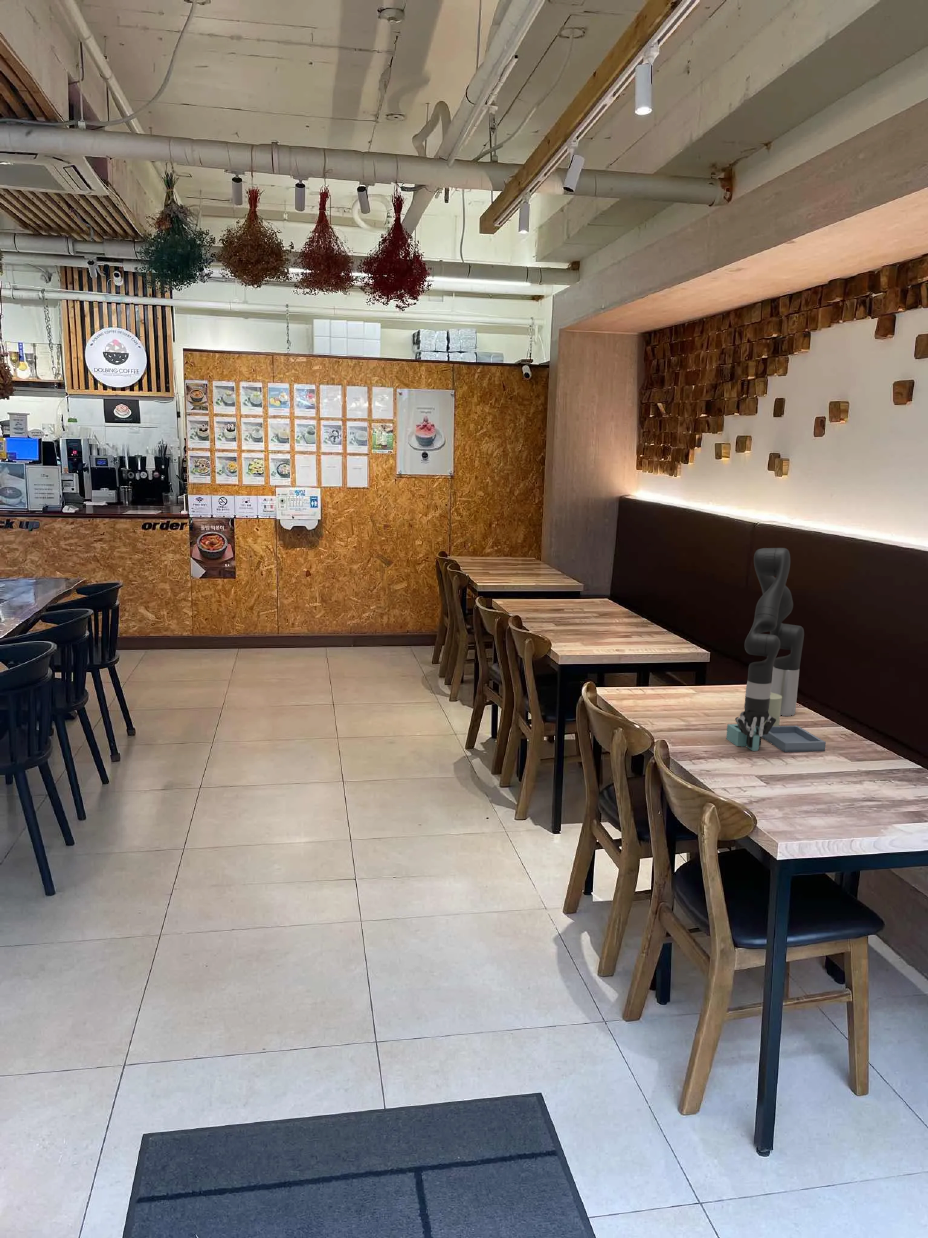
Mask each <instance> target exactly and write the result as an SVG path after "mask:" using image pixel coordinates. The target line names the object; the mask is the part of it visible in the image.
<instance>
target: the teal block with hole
mask: <svg viewBox="0 0 928 1238" xmlns="http://www.w3.org/2000/svg"><path fill="white" fill-rule="evenodd" d="M725 737H726V740H727V741H728V742H730V743H732V744H733V745H735V746H736V747H737V746H741V747H746V746H747V744H746V739H747V735H744V734H743V733H742V732H741V731H740V728H739V726H738V724H737V723H733V724H729V723H728V724H727V725H726V736H725ZM752 737H753V742H752V748H750V747H748V746H747V747H746V748H748V749H749V750H750V751H753V752H757V751H759V748H760V746H759V738H760V736H759V735H758V734H756V727H755V730H754V732H753V736H752Z"/></svg>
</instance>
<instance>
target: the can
mask: <svg viewBox="0 0 928 1238" xmlns="http://www.w3.org/2000/svg"><path fill="white" fill-rule="evenodd" d="M781 701H782V696H781V695H779V694H775V693H771V695H770V704H769V710H768V712H769V716H772V717H773V718H775V719H776V722H775V723H774V725H773V726H780V721H781V715H780V711H781ZM765 723H766V721H765ZM765 723H764V725H765Z"/></svg>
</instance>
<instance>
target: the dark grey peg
mask: <svg viewBox="0 0 928 1238" xmlns="http://www.w3.org/2000/svg"><path fill="white" fill-rule="evenodd" d="M744 711H745V710H744ZM744 711H741V712H740V713H739V717H741V716H743V713H744ZM744 725H745V728H746V730H747V727H746V725H747V722H746V720H745V719H744Z"/></svg>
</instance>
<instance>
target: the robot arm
mask: <svg viewBox="0 0 928 1238" xmlns="http://www.w3.org/2000/svg"><path fill="white" fill-rule="evenodd" d="M753 555H754V556H753V564H754V565H753V566H754V570H755V573H756V577H757V579H758V582H759V584H760V587H761V588H760V589H761V593H762V595H761V596H760V598H759V599H758V601H757V603H756V605H755V610H754V611H755V612H754V618H753V623H752V626H751V628H750V631H749V633H748V634H747V636H746V638H745V640H744V644H743V645H744V650H745V652H746V653H747V654H748V655H751V656H759V657H766V659H764V660H762V661H754V662H751V663H749V665H748V670H747V671H748V672H747V683H746V686H745V697H744V706H743V707H744V713H743V716H741V717H740V716H738V717H736V716H735V720H734V721H735V722H736V724H738V726H739V728H740V731H741V732H742V733H743V734H744V735H747V739H746V744H747V746H748V747H750V748H752V742H753V737H752V736H753V732H754V730H755V727H756V734H758V735H759V736H760V738H759V747H760V746H761V745H762V739H763V738H762V736H763V735H765V734H766V735H767V734H768V732H769V731H770V729H771V728H772V726H773V725H774V723H775V722H776V719H775V718H773V717H772V716H769V712H768V710H769V704H770V695H771V693H775V694H779V695H781V696H782V701H781V711H780V716H781V715H782V716H783V717H791V715H792V716H795V715H796V708H797V698H798V688H799V679H800V678H799V677H800V667H801V659H802V651H803V646H804V637H805V630H804V627H802V626H801V625H797V624H796V625H795V624H789V623H783V621H784V620H785V619H786V618H787V617H788V616H789V615H790V614H791V613H792V611H793V608H794V601H793V596H792V592H791V590H790V589H789V587H788V586H787V585H786V584H787V579H788V577H789V573H790V570H791V569H790V568H791V554H790V551H789V549H787V548H785V547H768V548H767V547H763V548H758V549H757V550H755V552H754V554H753ZM767 632H768V633H767ZM780 649H781V650H789V651H790V653H789V654H788V655H785V656H778V657H777V655H778V654H779V651H780ZM794 714H795V715H794ZM744 719H745V720H746V722H747V725H746V727H747V730H746V728H745V725H744ZM765 721H766V723H765ZM764 723H765V725H764ZM748 747H747V748H748Z"/></svg>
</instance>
